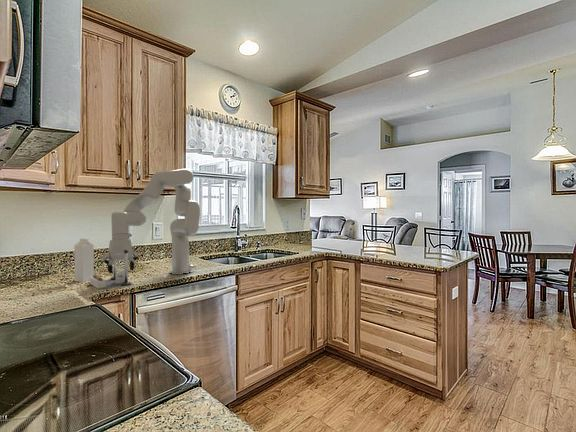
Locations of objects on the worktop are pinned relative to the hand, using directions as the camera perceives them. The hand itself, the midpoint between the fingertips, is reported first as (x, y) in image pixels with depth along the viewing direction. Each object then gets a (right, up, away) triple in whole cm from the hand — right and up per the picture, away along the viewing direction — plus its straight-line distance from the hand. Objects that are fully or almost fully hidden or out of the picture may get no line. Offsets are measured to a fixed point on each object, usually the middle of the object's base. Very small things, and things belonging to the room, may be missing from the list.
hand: (121, 271), depth 162 cm
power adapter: (0, -5, 0) cm, 5 cm away
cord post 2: (+6, -5, -6) cm, 10 cm away
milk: (-20, -6, +3) cm, 22 cm away
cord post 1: (-6, -5, +6) cm, 10 cm away
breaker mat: (-4, -6, -3) cm, 8 cm away
